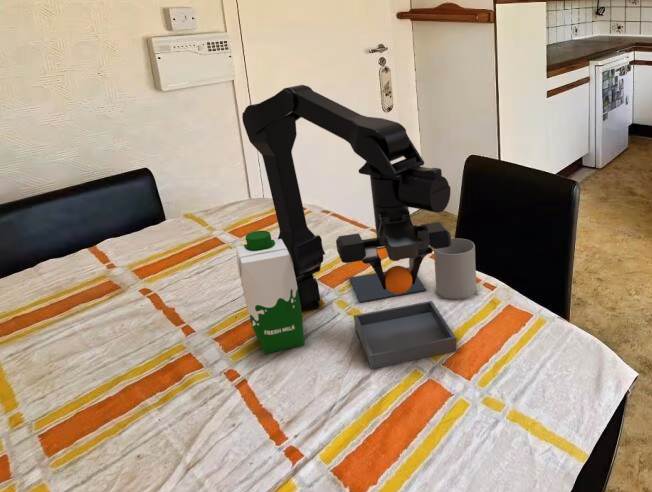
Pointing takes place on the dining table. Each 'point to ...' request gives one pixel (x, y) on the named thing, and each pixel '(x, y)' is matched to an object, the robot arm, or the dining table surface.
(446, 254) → the cup
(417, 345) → the shallow grey tray
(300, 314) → the milk carton
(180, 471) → the dining table surface
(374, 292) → the mat
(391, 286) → the ball
